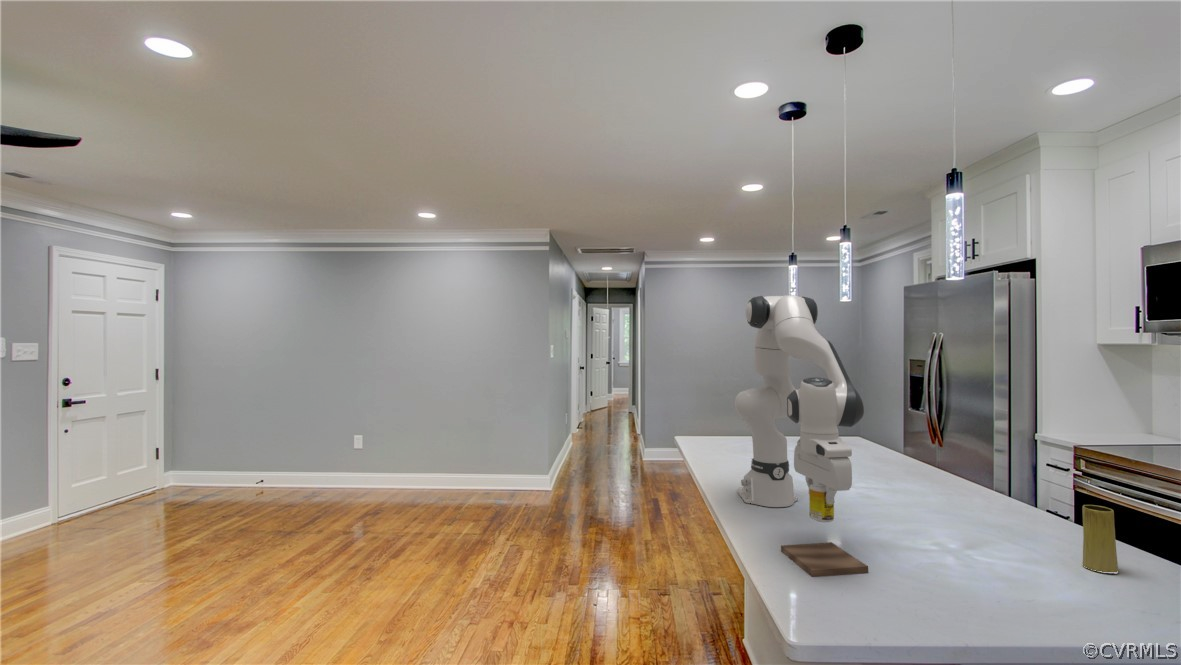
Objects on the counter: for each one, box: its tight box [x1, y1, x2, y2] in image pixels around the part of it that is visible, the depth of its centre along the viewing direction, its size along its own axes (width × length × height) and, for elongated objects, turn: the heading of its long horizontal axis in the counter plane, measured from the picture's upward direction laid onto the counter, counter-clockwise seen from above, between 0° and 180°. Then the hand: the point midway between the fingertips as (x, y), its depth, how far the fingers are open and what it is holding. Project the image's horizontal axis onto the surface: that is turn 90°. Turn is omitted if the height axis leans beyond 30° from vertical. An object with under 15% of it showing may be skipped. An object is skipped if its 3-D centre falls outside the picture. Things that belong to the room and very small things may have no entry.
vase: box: [1081, 504, 1120, 572], centre depth 121 cm, size 6×6×14 cm
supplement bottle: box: [808, 480, 835, 523], centre depth 128 cm, size 6×6×10 cm
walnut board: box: [780, 541, 869, 578], centre depth 128 cm, size 15×14×2 cm
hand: (821, 499), depth 128 cm, fingers closed on supplement bottle, 5 cm apart
